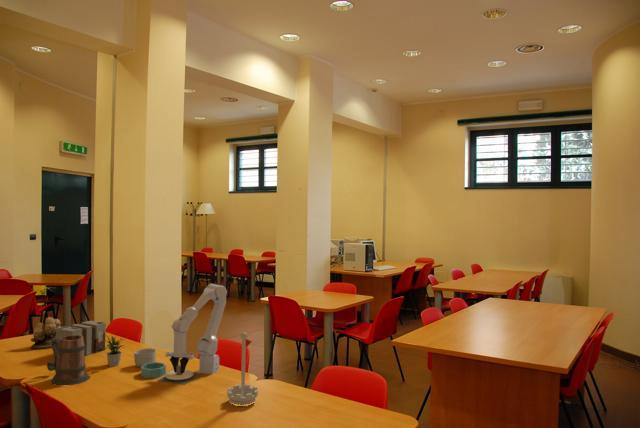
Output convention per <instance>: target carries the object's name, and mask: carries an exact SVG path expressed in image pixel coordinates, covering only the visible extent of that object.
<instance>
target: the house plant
mask: <svg viewBox="0 0 640 428" xmlns="http://www.w3.org/2000/svg"><path fill="white" fill-rule="evenodd" d="M110 336H111V339H110V337H109V336H108V335H107V334H105V337H106V338H107V339H105V348H103V350H104V349H105V350H107V348H108V349H109V350H110V351H109V350H108V352H107V353H106V357H107V365H108V367H118V366H119V365H120V361H121V357H122V351H121V350H122V349H123V347H126V346H125V345H124V344H122V345H121V343H122V342H123V341H124V340H125V339H126V338H128V336H127V337H125V338H123V336H122V337H121V338H120V339H118V340H116V337H115V336H114V335H113V334H111V335H110ZM122 338H123V339H122ZM99 339H102V338H99ZM106 343H107V344H106ZM105 350H104V351H105Z"/></svg>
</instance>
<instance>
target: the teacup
mask: <svg viewBox="0 0 640 428" xmlns="http://www.w3.org/2000/svg"><path fill="white" fill-rule="evenodd" d="M133 356H134V363H135V366H136V367H138V368H140V369H141V366H142V365H144V364H146V363H154V362H156V361H157V349H155V348H152V347H149V348H148V347H147V348H140V349H138V350H135V351H134V352H133Z"/></svg>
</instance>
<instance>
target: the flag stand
mask: <svg viewBox="0 0 640 428" xmlns="http://www.w3.org/2000/svg"><path fill="white" fill-rule="evenodd" d="M240 338H241V339H242V340H241V341H242V342H241V343H242V344H241V371H240V372H241V373H240V374H241V376H240V378H241V379H240V384H234V385H233V387H231V386H230V387H228V388H227V393H226V394H227V395H226V397H227V398H228V399H229V403H230V402H231V403H234V404H238V405H239V404H240V405H244V404H245V405H246V404H250V403H252V402H254V401H255V402H256V398H257V397H258V395H259V390H258V387H257V386H256V385H254V386H252V387H251V384H245V383H246V381H245V379H246V352H247V351H246V348H247V347H248V346H249V345H250V344H251V343H252V341H251V340H249V339H247V338H248V333H247V332H245V331H243V332H241V333H240Z"/></svg>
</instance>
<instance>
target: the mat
mask: <svg viewBox="0 0 640 428" xmlns="http://www.w3.org/2000/svg"><path fill="white" fill-rule="evenodd" d="M200 376H201V374H200V373H198V374H197V373H193V376H192V377H190V378H187V379H183V380H171V379H167V378H166V377H165V376H162V377H160V378H159V379H157V380H156V382H161V383H168V384H169V383H170V384H175V385H181V386H182V385H183V386H185V385H187V384H189V383H190V382H192V381H194V380H195V379H196V378H198V377H200Z"/></svg>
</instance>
